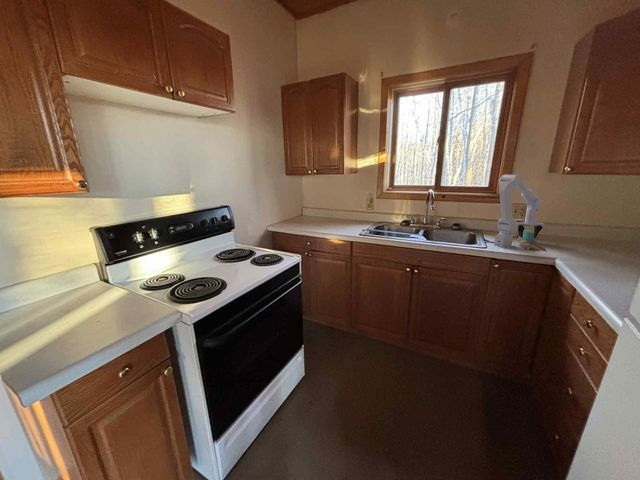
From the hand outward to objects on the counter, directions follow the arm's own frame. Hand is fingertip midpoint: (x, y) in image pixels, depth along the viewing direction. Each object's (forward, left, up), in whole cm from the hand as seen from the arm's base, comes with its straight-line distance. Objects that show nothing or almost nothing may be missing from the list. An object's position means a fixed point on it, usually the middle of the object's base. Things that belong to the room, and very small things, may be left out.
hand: (527, 237), depth 174 cm
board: (0, 0, -3) cm, 3 cm away
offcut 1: (-12, -6, -3) cm, 14 cm away
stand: (0, 0, -4) cm, 4 cm away
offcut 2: (-15, -10, -3) cm, 18 cm away
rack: (-10, -10, -4) cm, 15 cm away
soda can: (+12, +16, -4) cm, 20 cm away
